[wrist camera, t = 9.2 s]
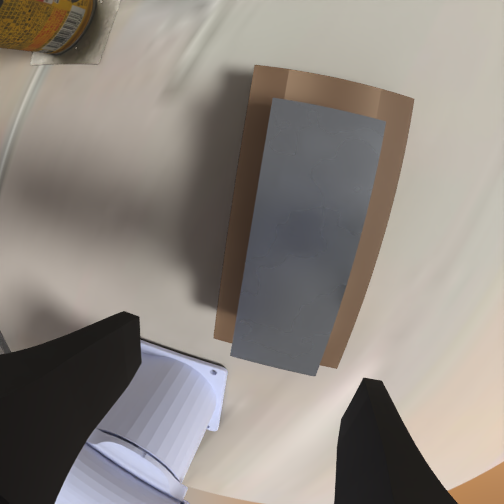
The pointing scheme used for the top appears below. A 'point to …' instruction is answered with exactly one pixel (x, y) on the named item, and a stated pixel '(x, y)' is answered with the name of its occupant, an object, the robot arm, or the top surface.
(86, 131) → the top surface
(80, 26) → the condiment
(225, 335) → the brown slotted tray
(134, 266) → the top surface
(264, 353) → the tall grey block
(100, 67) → the top surface
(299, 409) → the top surface
